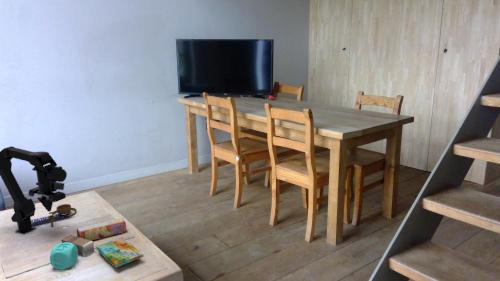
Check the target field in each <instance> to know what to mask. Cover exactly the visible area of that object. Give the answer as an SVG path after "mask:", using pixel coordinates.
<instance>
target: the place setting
mask: <svg viewBox="0 0 500 281" xmlns="http://www.w3.org/2000/svg"><path fill="white" fill-rule="evenodd" d="M72 211H73V213H71V212H72ZM77 211H78V210H77V208H76V207H75V208H74V207H72V205H71V204H69V203H64V204H60V205H58V206H56V210H54V211H50V212H48V214H49V216H48V222H50V225H51V227H52V228H53V227H54V222H55V218H54V216H55V215H56V214H58V215H60V214H66V213H67V215H66V216H71V217H73V216H74V215H76V214H77ZM68 213H69V214H68ZM70 213H71V214H70ZM54 214H55V215H54ZM53 215H54V216H53ZM64 216H65V215H64ZM64 216H63V217H64Z"/></svg>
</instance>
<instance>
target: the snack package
mask: <svg viewBox="0 0 500 281" xmlns="http://www.w3.org/2000/svg"><path fill="white" fill-rule="evenodd" d="M126 231H127V223H126V220H125V219H124V218H121V217H120V218H116V219H112V220H107V221H102V222H99V223H95V224H91V225H85V226H81V227H77V229H76V235H77V237H80V238H83V239H87V240H90V241H95V240H99V239H103V238H106V237H110V236H115V235H119V234H123V233H126Z"/></svg>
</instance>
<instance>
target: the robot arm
mask: <svg viewBox="0 0 500 281" xmlns="http://www.w3.org/2000/svg"><path fill="white" fill-rule="evenodd" d="M12 159H16V160H20V161H25V162H28V163H29V164H30V165H31V166H33V168H32V171H34V172H36V179H37V182H35V185H36V187H34V188H30V189H29V190H28V192H27V194H28V196H29V197H32V198H33V197H34V196H35V195H36V196H38V197H37V198H36V199H37V200H38V201H39V203H41V205H42V206H43V207H44V209H45V210H46V211H47V212H48V213H50V212H52V208H53V205H54V204H53V203H56V202H60V201H61V200H64V199H67V198H66V193H65V192H64V189H65V183H64V181H66V179H67V175H68V173H67V171H66V170H65V169H63V167H62V166H58V164H57V162H56V160H54V159H53V157H52V155H51V154H50V153H49V152H47V151H30V150H25V149H22V148H18V147H15V146H7V147H4V148H3V149H1V150H0V178H1V179H2V181H3V184H4V186H5V187H6V190H7V191H8V193H9V195H10V197H11V199H12V201H13V208H12V209H13V211H14V213H13V215H11V216H10V219H11V222H12V223H16V225H17V229H16V230H14V232H15V233H18V234H21V235H24V234H25V235H26V234H27V233H29V232H32V231H34V230H36V227H34V226H33V223H32V219H31V217H34V216H35V214H36V210H37V208H36V204H35V203H34V202H33V199H32V198H28V197H26V196H25V194H24V192H23V190H22V188H21V187H20V185H19V182H18V181H17V179H16V177H15V175H14V173H13V171H12V165H13V162H12V161H11V160H12ZM57 190H59V191H57Z"/></svg>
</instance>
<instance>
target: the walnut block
mask: <svg viewBox="0 0 500 281" xmlns="http://www.w3.org/2000/svg"><path fill="white" fill-rule="evenodd" d="M65 242H69V243H72V244H74V245H75V246H76V247H77V249H78V256H80V257H83V258H87V257H88V256H90V255H92V254H93V253H95V247H94V240H92V241H90V240H87V239H83V238H80V237H78V236H76V235H73V234H70V235H67V236H66V237H63V238H62V239H61V243H65Z"/></svg>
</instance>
